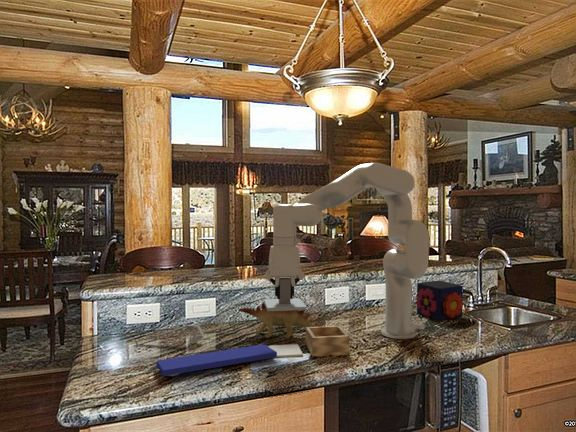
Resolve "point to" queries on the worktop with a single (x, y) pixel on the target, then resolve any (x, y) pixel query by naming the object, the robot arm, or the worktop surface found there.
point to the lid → (284, 299)
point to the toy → (281, 319)
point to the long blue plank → (214, 359)
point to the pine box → (327, 341)
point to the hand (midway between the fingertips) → (284, 297)
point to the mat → (287, 350)
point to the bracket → (189, 328)
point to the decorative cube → (439, 300)
